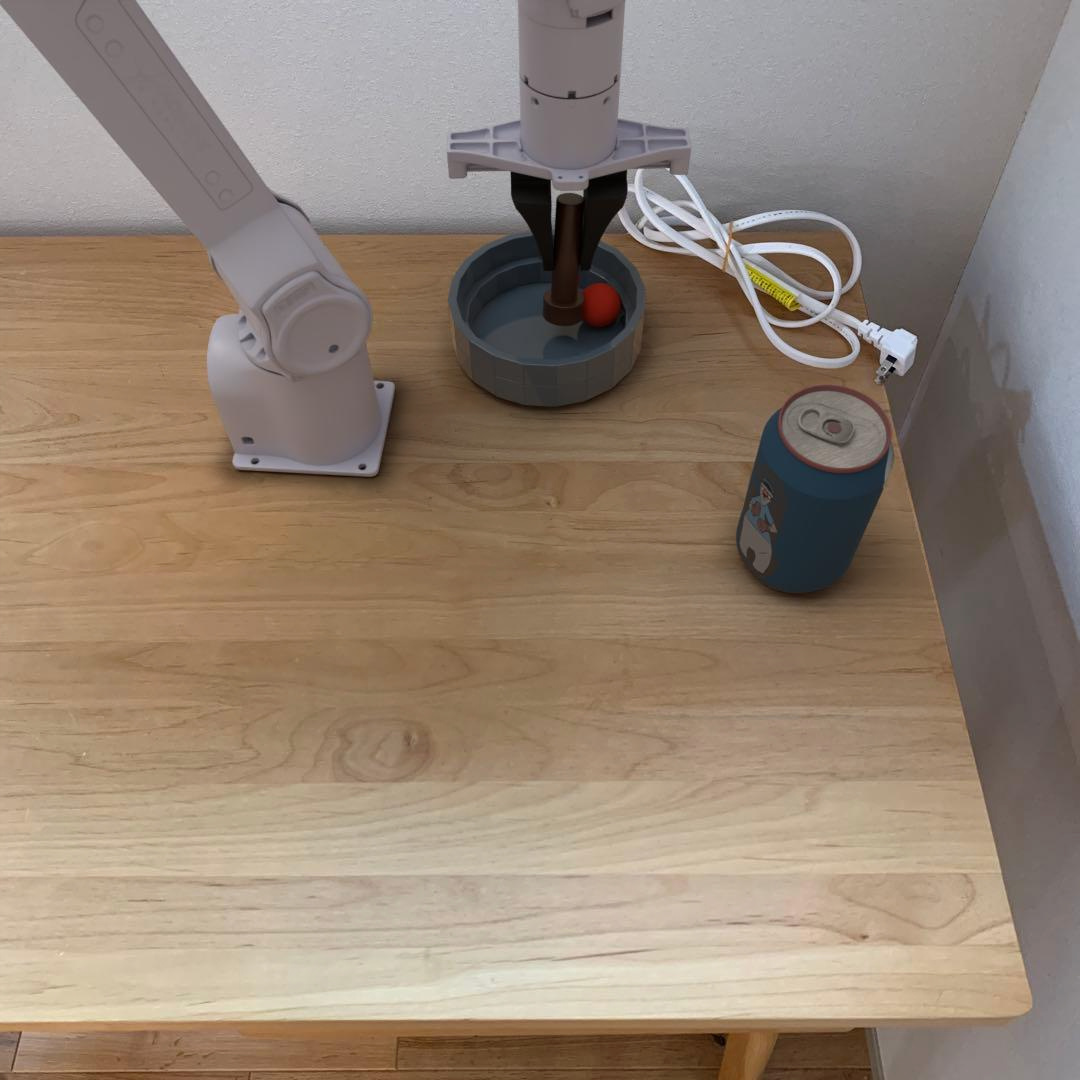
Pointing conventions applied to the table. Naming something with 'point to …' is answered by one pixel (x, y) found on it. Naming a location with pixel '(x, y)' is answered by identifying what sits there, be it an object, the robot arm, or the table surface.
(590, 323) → the red ball
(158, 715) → the table surface
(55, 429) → the table surface
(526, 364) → the bowl
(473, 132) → the robot arm
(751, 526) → the soda can
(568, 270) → the muddler
